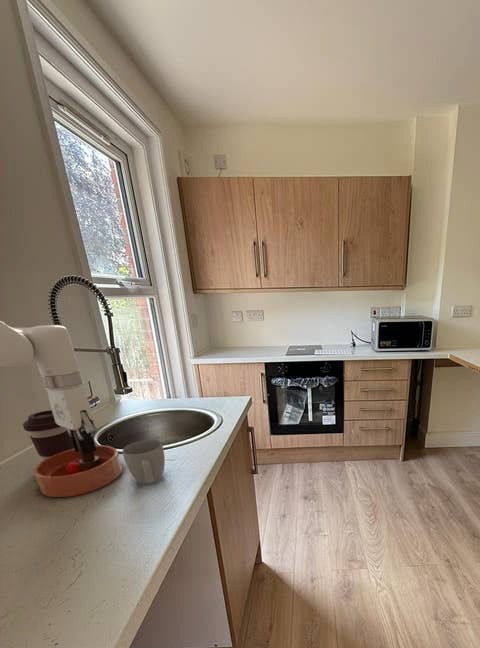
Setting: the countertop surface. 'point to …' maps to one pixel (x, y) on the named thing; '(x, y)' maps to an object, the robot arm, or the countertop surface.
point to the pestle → (86, 457)
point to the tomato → (73, 468)
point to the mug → (145, 460)
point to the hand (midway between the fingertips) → (85, 450)
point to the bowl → (64, 485)
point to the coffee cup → (47, 434)
